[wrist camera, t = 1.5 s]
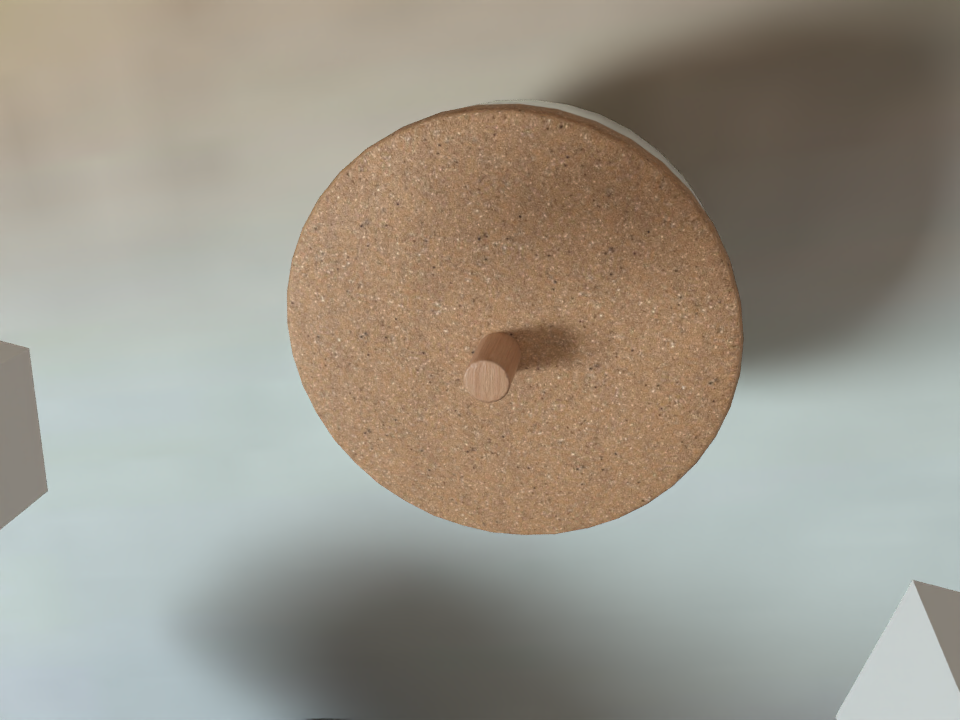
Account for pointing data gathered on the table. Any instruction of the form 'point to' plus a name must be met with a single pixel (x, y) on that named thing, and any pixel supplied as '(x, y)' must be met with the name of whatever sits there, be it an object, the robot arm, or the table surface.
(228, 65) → the table surface
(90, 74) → the table surface
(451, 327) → the lidded jar
